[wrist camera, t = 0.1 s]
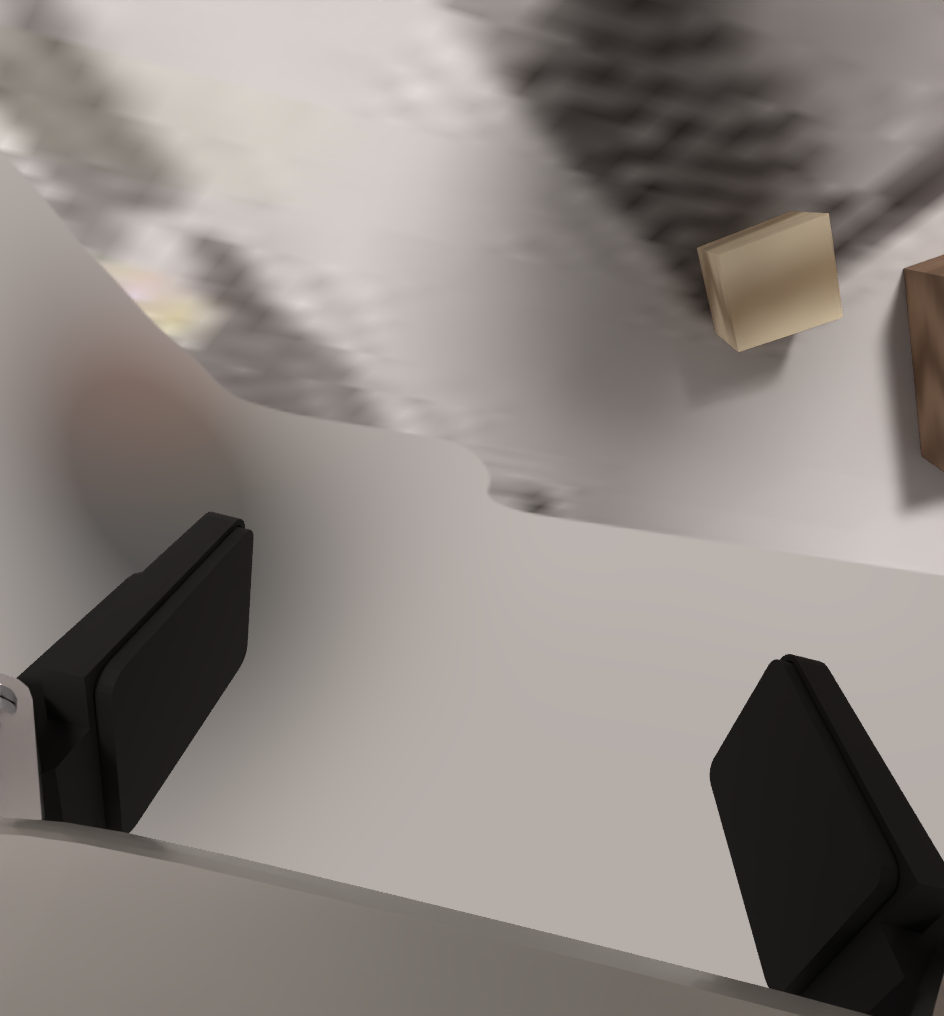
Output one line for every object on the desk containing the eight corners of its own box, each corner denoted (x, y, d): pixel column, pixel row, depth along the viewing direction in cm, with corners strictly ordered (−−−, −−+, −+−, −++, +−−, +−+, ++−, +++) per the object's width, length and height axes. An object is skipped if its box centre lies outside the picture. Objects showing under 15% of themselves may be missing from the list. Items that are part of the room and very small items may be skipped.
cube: (696, 247, 41) (718, 255, 36) (791, 211, 39) (828, 213, 34) (715, 333, 43) (738, 352, 38) (805, 301, 42) (842, 317, 36)
